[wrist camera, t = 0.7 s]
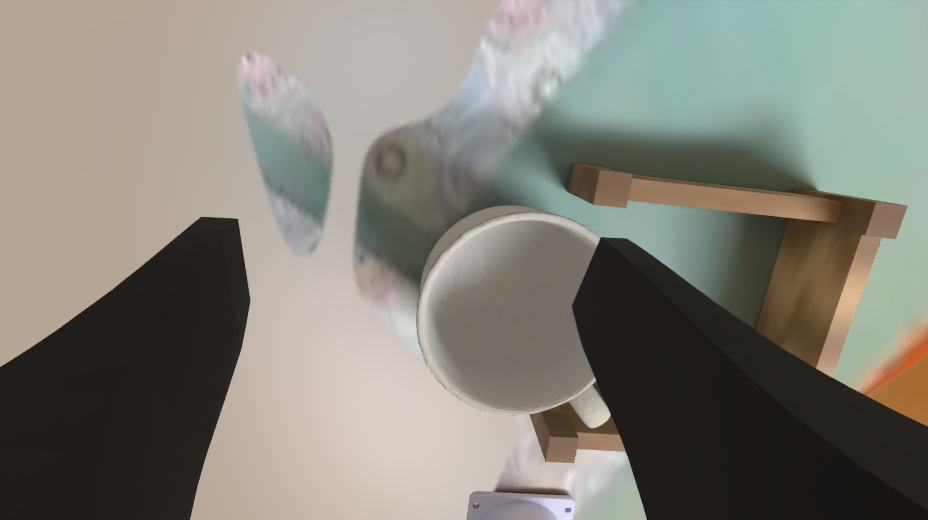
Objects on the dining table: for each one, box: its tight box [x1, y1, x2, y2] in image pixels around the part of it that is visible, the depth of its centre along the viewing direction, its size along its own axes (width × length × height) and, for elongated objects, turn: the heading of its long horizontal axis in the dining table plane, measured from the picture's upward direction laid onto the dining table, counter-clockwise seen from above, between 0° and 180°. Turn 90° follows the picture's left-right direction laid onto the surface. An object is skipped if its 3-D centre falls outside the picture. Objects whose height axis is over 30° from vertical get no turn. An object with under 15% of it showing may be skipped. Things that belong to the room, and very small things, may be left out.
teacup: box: [416, 205, 610, 428], centre depth 28 cm, size 14×11×8 cm
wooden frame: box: [530, 163, 907, 463], centre depth 30 cm, size 18×16×6 cm
